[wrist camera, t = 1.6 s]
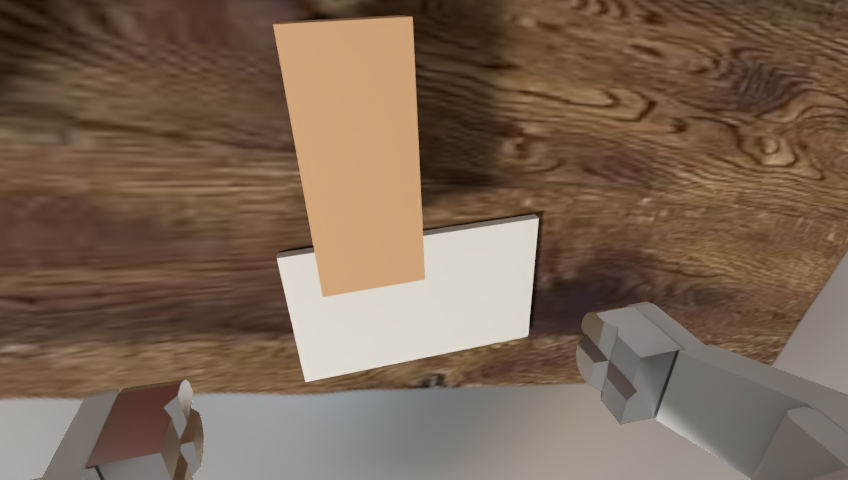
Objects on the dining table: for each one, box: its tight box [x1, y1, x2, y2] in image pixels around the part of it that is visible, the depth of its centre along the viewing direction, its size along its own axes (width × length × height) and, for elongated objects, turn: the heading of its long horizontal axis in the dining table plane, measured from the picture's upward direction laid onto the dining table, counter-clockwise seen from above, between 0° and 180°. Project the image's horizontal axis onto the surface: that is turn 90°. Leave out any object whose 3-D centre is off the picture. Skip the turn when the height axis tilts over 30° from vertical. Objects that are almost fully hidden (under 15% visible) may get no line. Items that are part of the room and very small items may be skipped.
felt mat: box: [277, 214, 539, 382], centre depth 37 cm, size 20×12×1 cm, turn 93°
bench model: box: [273, 15, 425, 297], centre depth 26 cm, size 14×6×8 cm, turn 3°
